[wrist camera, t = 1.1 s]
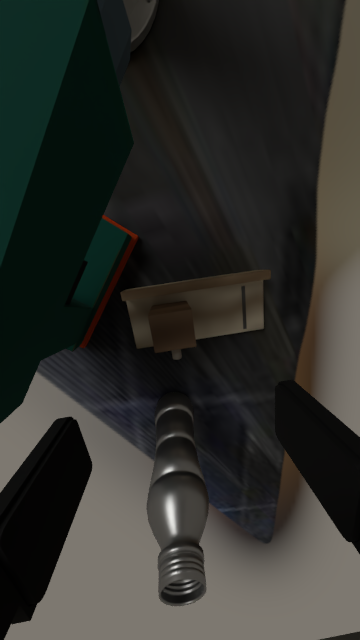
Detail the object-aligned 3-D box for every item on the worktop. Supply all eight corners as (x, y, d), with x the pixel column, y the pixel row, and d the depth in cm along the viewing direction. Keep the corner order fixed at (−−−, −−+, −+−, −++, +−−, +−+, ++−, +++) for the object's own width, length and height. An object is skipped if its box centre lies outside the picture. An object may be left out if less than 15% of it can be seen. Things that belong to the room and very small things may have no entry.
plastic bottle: (198, 395, 33) (243, 576, 13) (178, 422, 34) (193, 622, 15) (168, 380, 31) (169, 555, 12) (148, 408, 33) (122, 608, 13)
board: (126, 289, 27) (120, 292, 23) (257, 269, 27) (270, 269, 24) (138, 344, 29) (134, 354, 26) (258, 325, 30) (270, 333, 26)
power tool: (136, 95, 21) (-190, -1769, 2) (188, 135, 22) (318, -691, 3) (41, 325, 27) (-254, 455, 8) (86, 345, 29) (-77, 498, 9)
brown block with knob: (151, 305, 26) (147, 316, 20) (186, 300, 26) (191, 309, 20) (159, 346, 28) (157, 366, 22) (191, 341, 28) (198, 359, 22)
